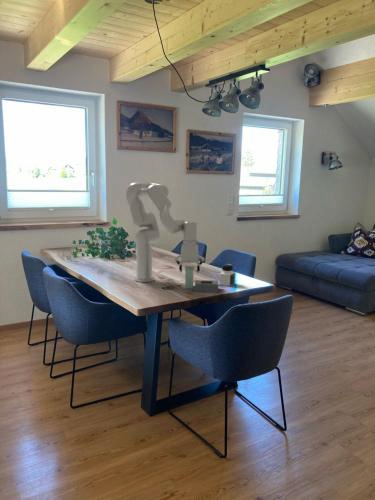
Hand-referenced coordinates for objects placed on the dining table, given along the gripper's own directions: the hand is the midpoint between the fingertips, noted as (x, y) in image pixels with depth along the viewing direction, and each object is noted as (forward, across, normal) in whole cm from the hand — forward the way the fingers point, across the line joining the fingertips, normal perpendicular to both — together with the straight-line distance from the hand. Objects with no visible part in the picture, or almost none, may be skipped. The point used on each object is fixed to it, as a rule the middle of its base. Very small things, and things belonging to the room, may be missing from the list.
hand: (189, 272), depth 229 cm
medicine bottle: (+9, -22, -10) cm, 26 cm away
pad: (+9, 0, 0) cm, 9 cm away
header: (+9, -10, +4) cm, 14 cm away
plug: (+9, 0, 0) cm, 9 cm away
